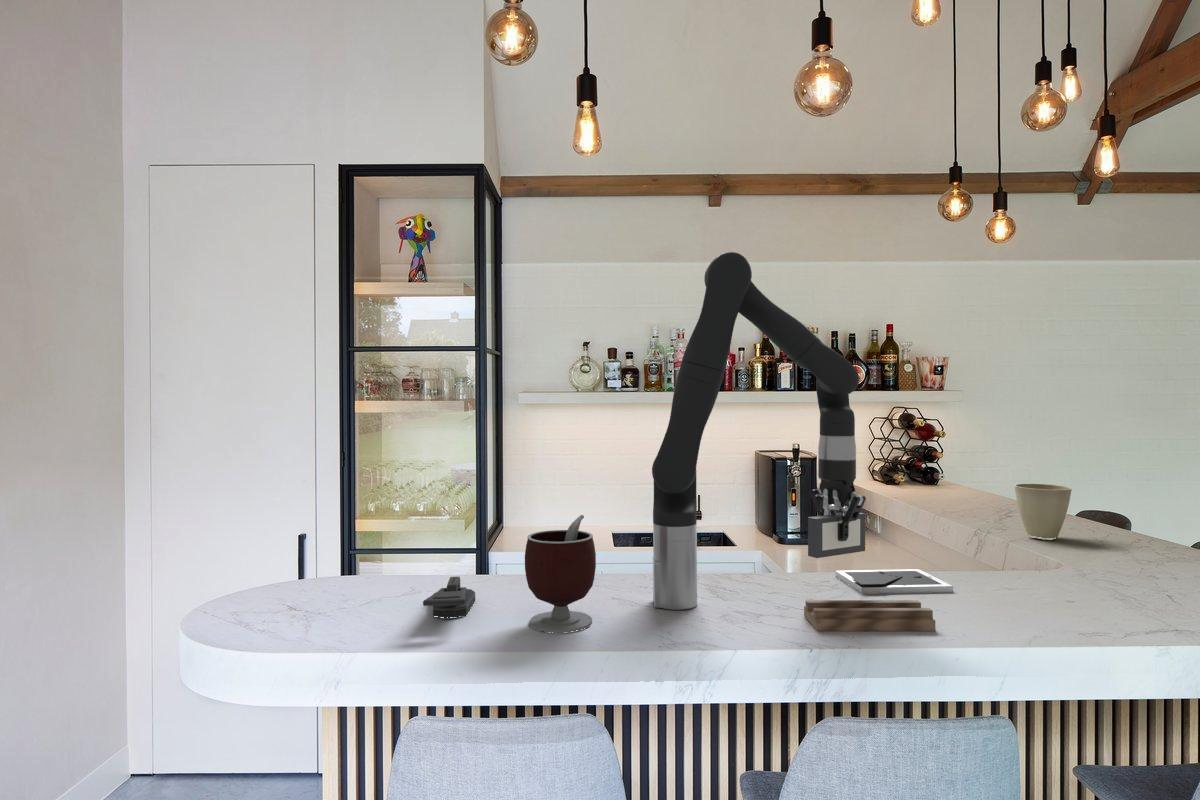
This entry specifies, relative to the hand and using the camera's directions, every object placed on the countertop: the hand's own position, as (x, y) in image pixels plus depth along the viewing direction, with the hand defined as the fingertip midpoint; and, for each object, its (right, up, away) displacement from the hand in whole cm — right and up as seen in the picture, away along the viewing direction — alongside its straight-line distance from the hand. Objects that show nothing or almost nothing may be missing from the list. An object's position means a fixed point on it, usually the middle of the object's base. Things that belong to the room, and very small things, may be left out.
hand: (836, 539), depth 150 cm
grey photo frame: (0, -3, 0) cm, 3 cm away
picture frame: (+19, -15, +17) cm, 29 cm away
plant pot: (+86, -13, +69) cm, 111 cm away
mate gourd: (-57, -15, -10) cm, 60 cm away
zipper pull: (-80, -15, -5) cm, 82 cm away
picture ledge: (+2, -14, -12) cm, 19 cm away
